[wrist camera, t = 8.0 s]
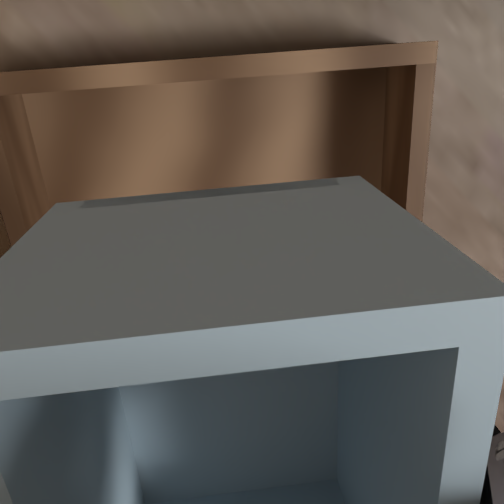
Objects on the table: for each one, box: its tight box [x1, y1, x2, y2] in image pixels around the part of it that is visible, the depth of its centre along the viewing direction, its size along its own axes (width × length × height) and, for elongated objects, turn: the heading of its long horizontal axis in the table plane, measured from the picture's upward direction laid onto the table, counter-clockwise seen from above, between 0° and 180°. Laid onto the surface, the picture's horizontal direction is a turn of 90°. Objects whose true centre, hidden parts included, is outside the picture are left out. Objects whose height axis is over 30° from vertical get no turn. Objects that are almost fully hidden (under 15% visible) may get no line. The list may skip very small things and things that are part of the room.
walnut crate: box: [0, 41, 438, 247], centre depth 22 cm, size 18×14×4 cm
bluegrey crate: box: [0, 176, 504, 504], centre depth 9 cm, size 6×9×6 cm
